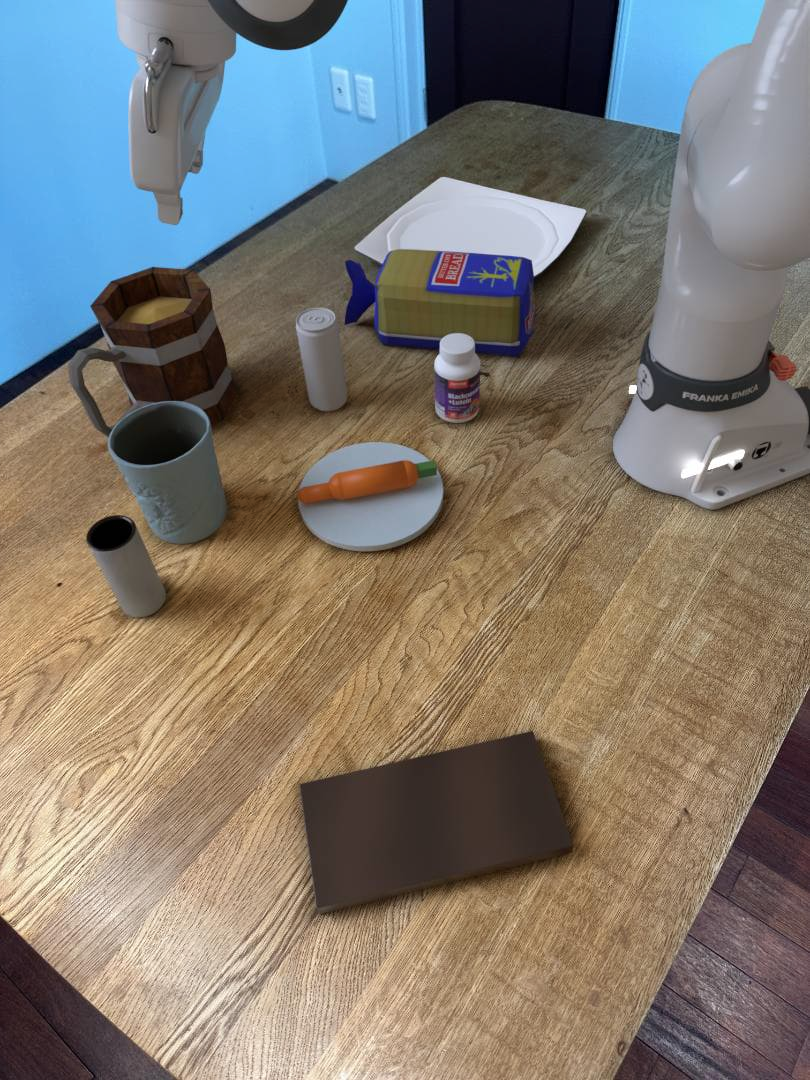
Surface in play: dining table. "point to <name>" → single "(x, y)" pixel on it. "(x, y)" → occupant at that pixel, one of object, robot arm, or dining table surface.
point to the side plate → (371, 501)
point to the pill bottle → (457, 379)
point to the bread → (448, 299)
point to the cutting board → (430, 821)
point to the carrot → (368, 481)
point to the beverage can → (322, 358)
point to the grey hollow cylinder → (126, 565)
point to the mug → (159, 344)
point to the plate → (476, 224)
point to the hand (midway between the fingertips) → (181, 193)
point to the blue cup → (171, 469)
